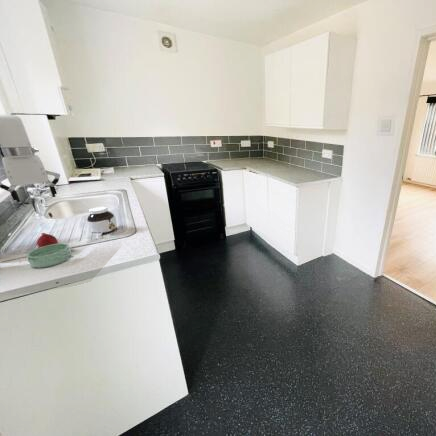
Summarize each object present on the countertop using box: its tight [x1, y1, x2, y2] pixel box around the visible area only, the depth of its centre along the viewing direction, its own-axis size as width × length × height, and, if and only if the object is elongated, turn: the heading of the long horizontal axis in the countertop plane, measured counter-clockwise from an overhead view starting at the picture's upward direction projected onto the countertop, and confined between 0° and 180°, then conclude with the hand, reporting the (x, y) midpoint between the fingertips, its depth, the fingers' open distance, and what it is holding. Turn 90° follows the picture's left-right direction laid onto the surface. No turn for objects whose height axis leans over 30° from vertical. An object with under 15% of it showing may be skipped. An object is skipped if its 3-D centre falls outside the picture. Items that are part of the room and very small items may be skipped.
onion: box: [36, 232, 59, 248], centre depth 98 cm, size 6×6×8 cm
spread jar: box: [86, 206, 118, 236], centre depth 116 cm, size 12×11×12 cm
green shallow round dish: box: [26, 242, 72, 269], centre depth 90 cm, size 11×11×4 cm
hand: (37, 199), depth 93 cm, fingers open, 9 cm apart
